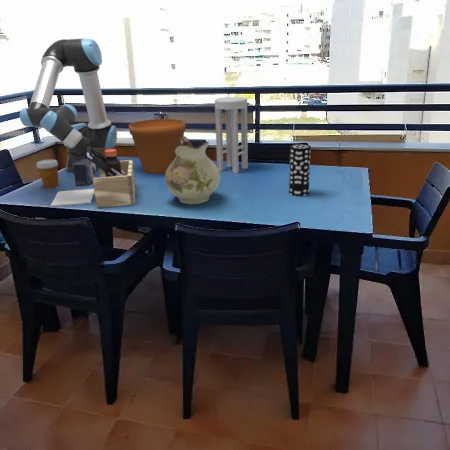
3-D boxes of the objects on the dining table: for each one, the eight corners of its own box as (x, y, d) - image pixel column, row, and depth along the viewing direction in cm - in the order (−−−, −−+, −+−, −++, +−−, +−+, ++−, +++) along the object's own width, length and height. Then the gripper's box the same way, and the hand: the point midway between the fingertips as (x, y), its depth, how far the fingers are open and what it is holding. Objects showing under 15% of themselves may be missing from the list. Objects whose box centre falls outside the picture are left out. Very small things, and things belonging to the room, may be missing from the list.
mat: (58, 192, 196) (58, 191, 196) (95, 189, 199) (94, 188, 199) (50, 206, 180) (50, 205, 180) (90, 203, 182) (90, 201, 182)
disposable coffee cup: (66, 184, 208) (62, 160, 203) (51, 190, 200) (46, 165, 195) (51, 182, 212) (46, 158, 207) (36, 188, 204) (31, 163, 199)
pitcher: (200, 212, 168) (197, 147, 159) (153, 202, 180) (147, 142, 171) (230, 195, 186) (229, 137, 177) (186, 188, 198) (182, 132, 188)
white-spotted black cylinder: (296, 197, 181) (298, 149, 173) (285, 192, 188) (286, 146, 180) (312, 194, 185) (315, 147, 177) (300, 188, 191) (302, 143, 184)
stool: (253, 167, 226) (252, 97, 213) (237, 174, 214) (236, 101, 201) (227, 164, 234) (226, 96, 221) (211, 171, 222) (208, 100, 209)
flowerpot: (165, 159, 247) (161, 117, 238) (199, 167, 229) (196, 122, 220) (123, 170, 229) (117, 124, 220) (156, 179, 211) (151, 130, 202)
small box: (88, 186, 205) (84, 164, 201) (75, 185, 206) (71, 164, 202) (98, 179, 214) (95, 158, 210) (86, 179, 215) (82, 158, 211)
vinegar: (118, 191, 195) (113, 147, 187) (127, 195, 190) (121, 150, 182) (105, 195, 190) (98, 150, 182) (113, 199, 186) (107, 153, 178)
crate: (102, 187, 202) (98, 162, 197) (135, 185, 204) (132, 159, 199) (96, 207, 177) (92, 179, 172) (134, 204, 179) (131, 176, 175)
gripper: (74, 144, 188) (118, 177, 197) (68, 154, 171) (116, 190, 180) (85, 131, 187) (128, 165, 196) (79, 139, 170) (127, 177, 179)
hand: (122, 177), depth 188 cm, fingers closed on vinegar, 6 cm apart
